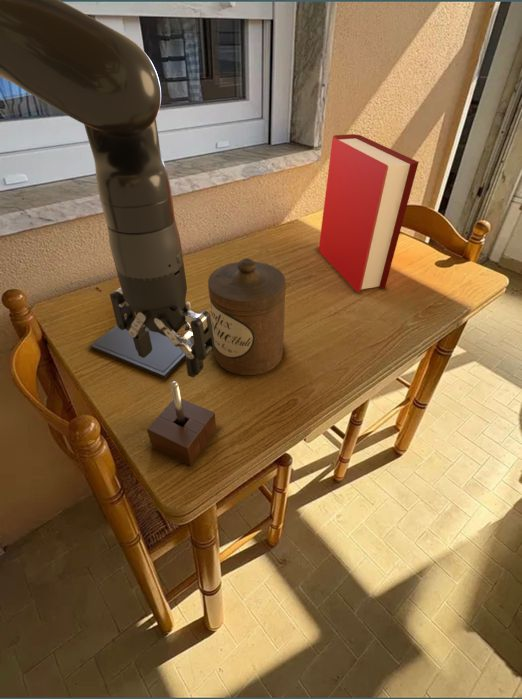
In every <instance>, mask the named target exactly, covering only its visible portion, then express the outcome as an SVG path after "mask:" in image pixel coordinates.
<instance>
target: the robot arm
mask: <svg viewBox="0 0 522 699" xmlns="http://www.w3.org/2000/svg"><path fill="white" fill-rule="evenodd" d="M0 78H1V79H4V80H5V81H8V82H10V83H11V84H13V85H15V86H17V87H19V88H20V89H22V90H24V91H25V92H27V93H28V94H30V95H31V96H33V97H35V98H37V99H39V100H40V101H42V102H44V103H45V104H47V105H49V106H50V107H52V108H53V109H56V110H57V111H59V112H61V113H63V114H64V115H66V116H68V117H69V118H72V119H73V120H75V121H77V122H79V123H81V124H83V126H84V129H85V133H86V136H87V140H88V143H89V146H90V150H91V153H92V156H93V160H94V161H93V162H94V168H95V180H96V187H97V192H98V196H99V200H100V203H101V204H100V205H101V207H102V212H103V215H104V219H105V224H106V227H107V233H108V244H109V248H110V251H111V255H112V259H113V262H114V266H115V270H116V274H117V277H118V282H119V285H120V287H118V288H117V289H116V290H114V291H113V292H111V293H110V294H109V298H110V302H111V306H112V310H113V314H114V319H115V322H116V325H117V326H118V328H119V329H121V330H124V329H126V330H128V333H129V335H130V336H131V337H133V340H134V343H135V348H136V350H137V352H138V355H139V356H140V357H143V358H145V357H146V356H147V355H148V354H149V353H150V352H151V351H152V344H151V340H150V336H149V331H148V330H146V328H147V327H148V328H149V330H150V331H153V332H158V333H160V334H162V335H164V336H166V337H168V338H169V340H170V341H171V342H172V343H173V345H174V346H176V347H180V349H181V350H182V351H183V352H184V354H185V355H186V357H185V359H184V360H185V366H186V371H187V372H186V373H187V376H188V377H190V378H192V379H193V378H195V377H196V376H198V375H199V374H200V373H201V371H202V370H203V369H204V367H205V366H204V361H205V359H207V357H208V356H209V355H210V354H211V352H214V348H215V343H214V337H213V330H212V320H211V313H209V312H208V311H207V310H202V311H201V312H200V313H197V312H194V311H193V312H190V310H191V309H190V310H189V308H188V307H187V305H186V302H187V301H186V298H187V292H188V286H187V279H186V270H185V263H184V256H183V255H184V254H183V248H182V242H181V236H180V232H179V228H178V225H177V220H176V216H175V210H174V209H175V208H174V203H173V194H172V188H171V187H172V186H171V182H170V177H169V174H168V171H167V167H166V165H165V163H164V160H163V157H162V153H161V152H162V151H161V146H160V138H159V131H158V124H157V123H158V122H157V117H158V115H159V112H160V109H161V103H162V102H161V101H162V88H161V83H160V79H159V76H158V73H157V70H156V68H155V66H154V64H153V62H152V60H151V59H150V57H149V56H148V54H147V53H146V52H145V51H144V49H143V48H142V47H141V46H140V45H138V44H137V43H136V42H135V41H134V40H132V39H131V38H129V37H127V36H126V35H124V34H122V33H121V32H119V31H117V30H115V29H113V28H111V27H110V26H108V25H106V24H104V23H102V22H101V21H99V20H97V19H95V18H94V17H91V16H90V15H88V14H86V13H84V12H82V11H81V10H79V9H77V8H75V7H73V6H72V5H69V4H67V3H66V2H64V1H63V0H0ZM125 315H126V316H125ZM182 328H183V329H184V331H183V332H182V333H181V334H180V337H179V336H178V335H179V334H178V335H177V332H179V331H180V330H181V329H182ZM188 339H189V340H190V341H191V343H192V344H193V346H192V347H191V348H190V346H189V345H188V344H187V340H188Z"/></svg>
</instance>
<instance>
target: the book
mask: <svg viewBox="0 0 522 699" xmlns="http://www.w3.org/2000/svg"><path fill="white" fill-rule="evenodd" d="M330 146H331V147H330V155H329V162H328V171H327V180H326V188H325V195H324V204H323V212H322V219H321V227H320V236H319V244H318V252H319V253H320V254H321V255H322V256H323V258H325V259H326V260H327V262H329V263H330V265H331V266H332V267H333V268H334V269H335V270H336V271H337V272H338V274H340V275H341V277H343V279H344V280H345V281H346V282H347V283H348V284H349V285H350V286H351V288H352V289H353V290H354V291H355V292H356V293H357V294H360V292H361V291H362V290H365V289H366V290H367V289H372V288H378V287H379V288H381V289H384V290H385V289H386V285H387V283H388V278H389V274H390V271H391V267H392V263H393V259H394V256H395V252H396V248H397V246H398V241H399V239H400V238H399V237H400V233H401V230H402V226H403V222H404V219H405V215H406V211H407V208H408V207H407V206H408V204H409V199H410V197H411V196H410V195H411V193H412V190H413V185H414V181H415V177H416V173H417V170H418V167H419V162H420V161H418V160H416V159H413V158H411V157H408V156H407V155H404V154H402V153H400V152H398V151H396V150H394V149H391V148H389V147H386V146H385V145H383V144H381V143H379V142H376V141H374V140H372V139H369V138H367V137H365V136H363V135H361V134H356V133H352V134H350V133H349V134H348V133H347V134H334V135H333V136H332V140H331V145H330Z"/></svg>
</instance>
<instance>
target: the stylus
mask: <svg viewBox="0 0 522 699" xmlns="http://www.w3.org/2000/svg"><path fill="white" fill-rule="evenodd" d="M169 386H170V391H171V396H172V400H173V401H174V406H175V411H176V416H177V421H178V425H179V426H181V427H183V426H184V425H185V424H186V422H185V417H184V411H183V406H182V401H181V399H182V395H181V390H180V385H179V382H178V381H176V380H173V381H171V382H170V385H169Z"/></svg>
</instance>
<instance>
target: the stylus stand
mask: <svg viewBox="0 0 522 699" xmlns="http://www.w3.org/2000/svg"><path fill="white" fill-rule="evenodd" d="M181 401H182V406H183V411H184V417H185V422H186V424H185V425H184V426H183V427H181V426H179V425H178V421H177V416H176V411H175V406H174V401H173V399H172V400H171V402H170V403H168V404H167V406H166V407H165V408H164V409H163V410H162V411H161V412H160V413H159V415H158V416H157V417H156V418H155V419H154V421H152V422H151V424H150V425H149V426H148V427H146V431H147V434H148V438H149V442H150V444H151V447H152V448H153V449H155V450H157V451H159V452H161V453H163V454H166V455H168V456H170V457H171V458H173V459H176V460H178V461H179V462H181V463H183V464H186V465H188V466H190V467H191V466H192V465H193V464H194V462H195V461H196V460H197V458H198V457H199V455H200V454H201V453H202V451H204V449H205V447H206V446H207V444H208V443H209V442H210V440H211V439H212V438H213V436H214V435H215V434H216V432H217V422H216V412H214V411H213V410H210V409H207V408H206V407H202V406H200V405H199V404H198V405H197V404H196V403H193V402H190V401H189V400H186V399H183V398H181Z"/></svg>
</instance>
